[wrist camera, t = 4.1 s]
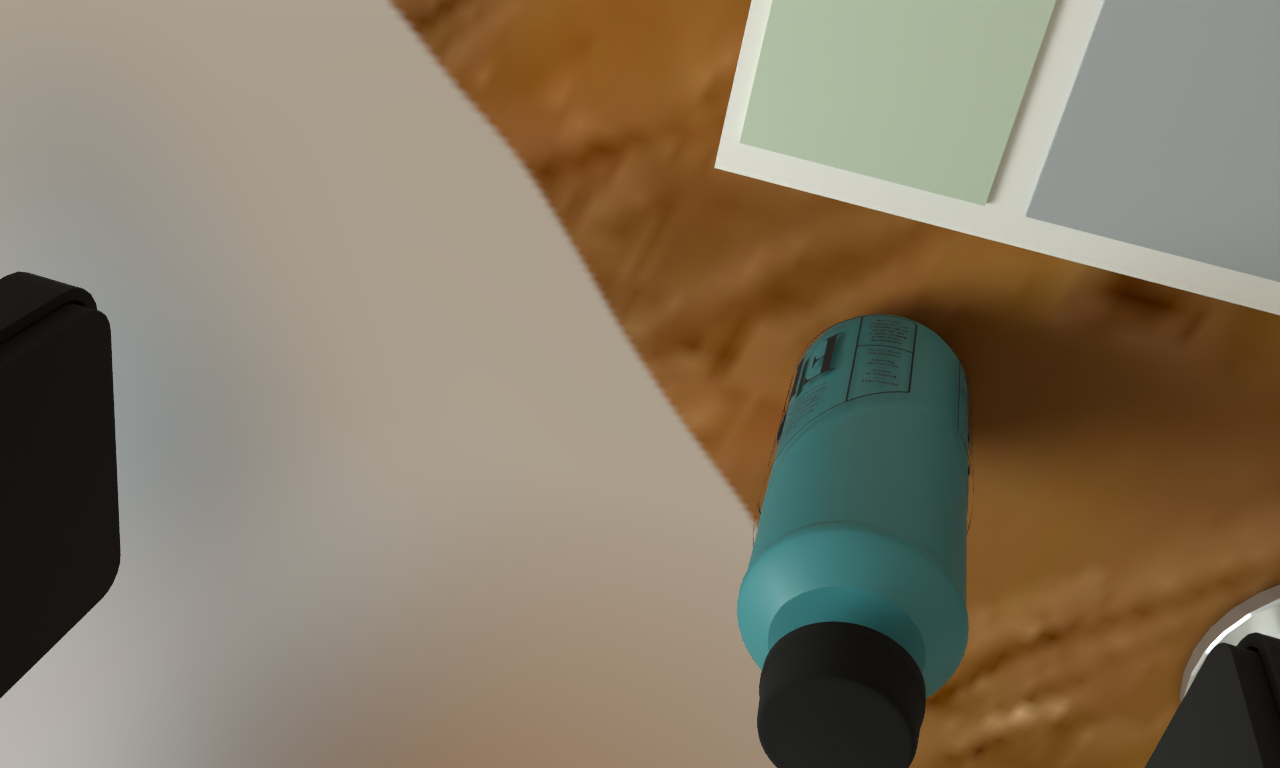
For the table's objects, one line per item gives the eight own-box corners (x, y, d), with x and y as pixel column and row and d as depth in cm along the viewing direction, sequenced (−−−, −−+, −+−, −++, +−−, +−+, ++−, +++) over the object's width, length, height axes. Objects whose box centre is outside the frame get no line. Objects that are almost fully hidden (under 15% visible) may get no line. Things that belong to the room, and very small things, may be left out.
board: (1447, -21, 36) (1462, -14, 35) (1283, 305, 42) (1291, 321, 40) (792, -168, 39) (787, -165, 37) (719, 159, 44) (712, 170, 43)
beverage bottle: (839, 263, 45) (752, 590, 28) (1007, 334, 44) (1025, 709, 27) (772, 403, 48) (658, 772, 31) (928, 470, 48) (900, 881, 31)
